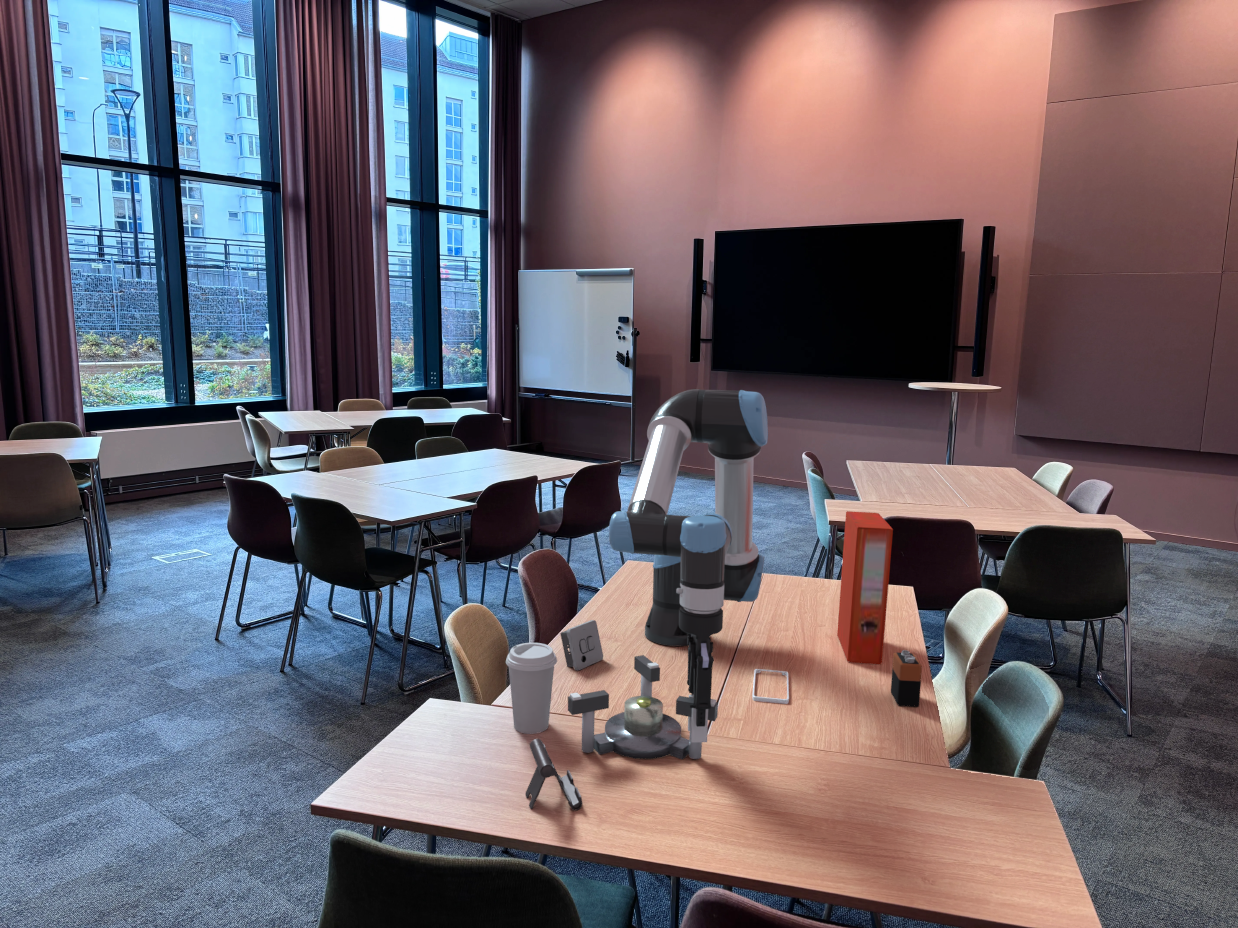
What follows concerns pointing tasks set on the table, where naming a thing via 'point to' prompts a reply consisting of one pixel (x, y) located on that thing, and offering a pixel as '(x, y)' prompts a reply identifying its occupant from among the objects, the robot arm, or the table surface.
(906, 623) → the table surface
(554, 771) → the portable electronic device stand
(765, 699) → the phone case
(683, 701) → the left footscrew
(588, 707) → the foot screw
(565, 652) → the electrical switch
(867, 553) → the file binder
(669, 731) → the levelling base
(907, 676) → the battery
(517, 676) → the coffee cup
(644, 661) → the foot screw
